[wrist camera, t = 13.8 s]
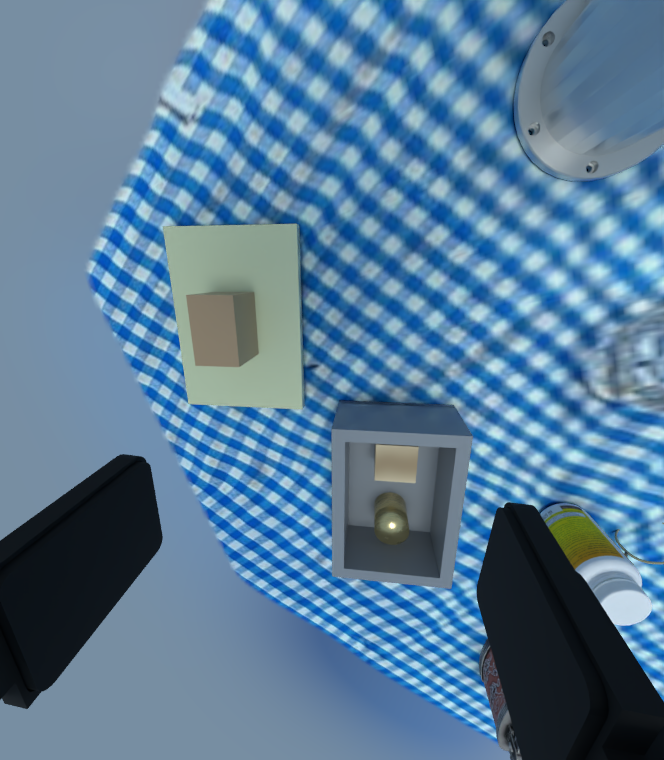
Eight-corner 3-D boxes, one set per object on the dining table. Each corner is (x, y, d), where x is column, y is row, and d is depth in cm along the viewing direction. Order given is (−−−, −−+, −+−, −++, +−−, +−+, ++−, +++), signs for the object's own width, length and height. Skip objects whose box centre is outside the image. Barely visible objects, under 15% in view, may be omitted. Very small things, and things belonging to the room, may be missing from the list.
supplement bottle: (522, 521, 38) (573, 607, 28) (563, 491, 36) (632, 572, 26) (557, 549, 38) (619, 642, 28) (599, 520, 36) (680, 610, 27)
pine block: (375, 426, 35) (375, 444, 32) (413, 428, 35) (418, 446, 31) (374, 459, 37) (374, 480, 33) (411, 461, 36) (415, 483, 32)
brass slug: (374, 491, 38) (375, 515, 34) (406, 493, 37) (410, 518, 34) (373, 516, 39) (373, 543, 35) (404, 519, 38) (408, 546, 35)
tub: (339, 400, 36) (331, 429, 29) (453, 405, 34) (472, 436, 28) (339, 527, 41) (332, 576, 34) (438, 536, 40) (451, 588, 33)
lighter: (501, 679, 46) (534, 785, 36) (475, 676, 46) (501, 780, 37) (511, 638, 43) (549, 740, 34) (484, 635, 43) (514, 735, 34)
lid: (178, 230, 33) (123, 217, 26) (302, 227, 31) (281, 214, 24) (200, 395, 38) (160, 423, 31) (307, 400, 37) (290, 431, 29)
